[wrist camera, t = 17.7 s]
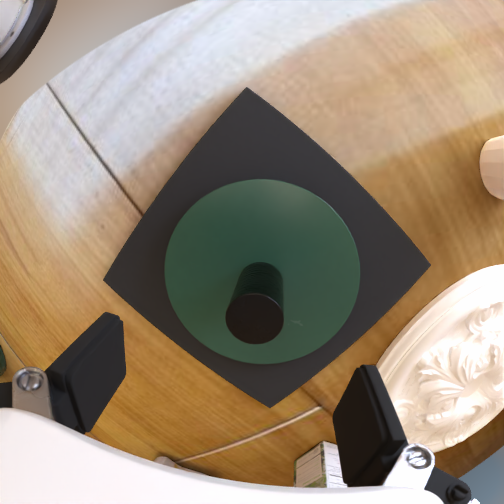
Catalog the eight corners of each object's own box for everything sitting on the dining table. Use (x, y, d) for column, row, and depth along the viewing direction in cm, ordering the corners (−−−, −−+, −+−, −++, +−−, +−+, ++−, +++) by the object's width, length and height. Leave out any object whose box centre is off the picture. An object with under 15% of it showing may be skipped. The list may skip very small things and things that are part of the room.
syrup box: (326, 469, 29) (332, 558, 15) (291, 460, 29) (289, 557, 15) (356, 449, 28) (373, 545, 14) (321, 438, 27) (330, 546, 13)
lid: (138, 280, 23) (95, 316, 16) (251, 137, 19) (238, 120, 13) (268, 381, 25) (264, 437, 18) (391, 269, 21) (429, 306, 14)
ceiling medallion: (307, 429, 27) (308, 451, 24) (476, 209, 19) (498, 215, 16) (442, 460, 28) (447, 473, 25) (558, 321, 21) (570, 331, 18)
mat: (106, 278, 24) (102, 280, 23) (247, 89, 19) (246, 86, 18) (270, 404, 26) (269, 408, 25) (428, 263, 21) (431, 265, 20)
